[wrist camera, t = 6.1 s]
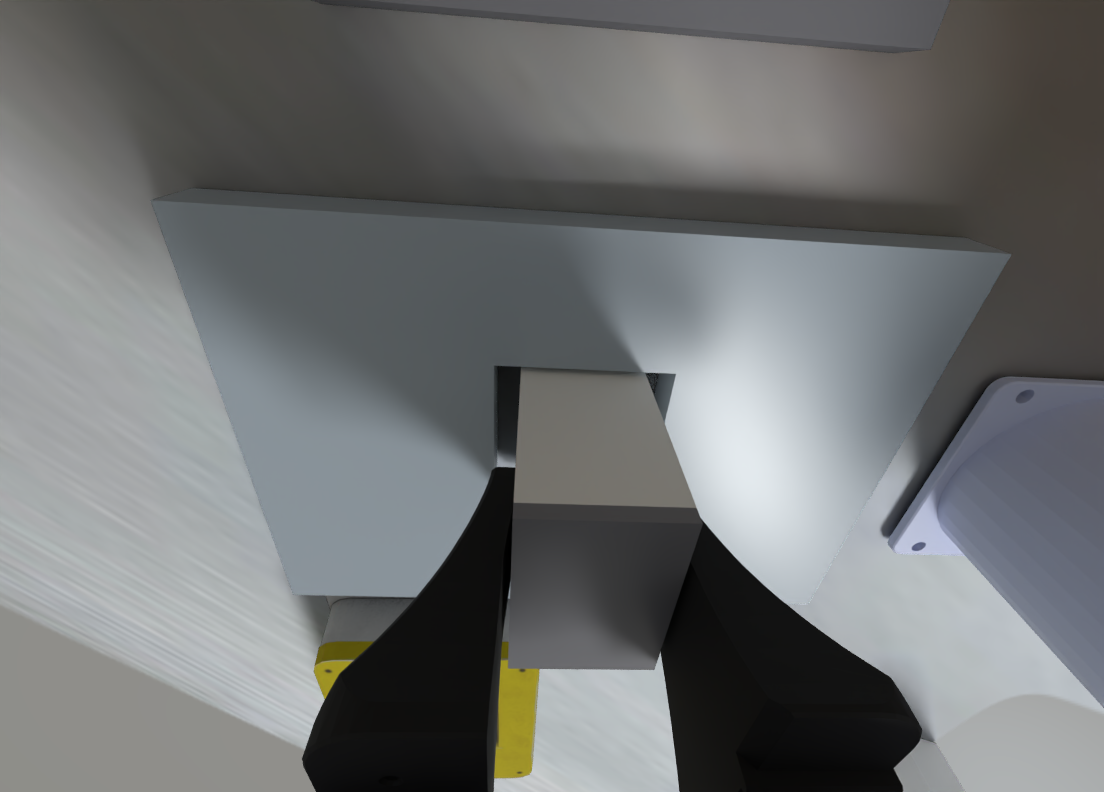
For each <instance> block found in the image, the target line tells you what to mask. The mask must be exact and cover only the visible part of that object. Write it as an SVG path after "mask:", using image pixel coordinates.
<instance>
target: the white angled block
mask: <svg viewBox="0 0 1104 792" xmlns="http://www.w3.org/2000/svg"><path fill="white" fill-rule="evenodd" d="M894 770H895V772H896V774H897V776H898V778H899V780H900V782H901V783H902V785H903V792H965V790H964V789H963V787H962V785H961V783H960V782H959V780H958V779H957V777H956V775H955V774H954V772H953V770H952V769H951V767H950V765H949V764H948V762H947V761H946V759H945V757H944V755H943V754H942V752H941V750H940V749H939V747H938V745H937V744H936V743H935V742H930V741H927V740H924V739H921V738H920V742H919V743H918V744H917V745H916V747H915V748H914V749H913V750H912V751H911V752H910V753H909V754H908V755H907V756H906V757H905V758H904V759H903V760H902V761H901V762H900V763H898V764H897V765H896V766H895V767H894Z"/></svg>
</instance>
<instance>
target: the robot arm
mask: <svg viewBox="0 0 1104 792" xmlns="http://www.w3.org/2000/svg"><path fill="white" fill-rule="evenodd" d="M514 485H515V468H509V467H495V468H494V469H493V470H492V471H491V475H490V478H489V481H488V484H487V486H486V489H485V491H484V493H483V496H482V498H481V500H480V502H479V504H478V506H477V508H476V510H475V512H474V514H473V515H472V517H471V519H470V521H469V523H468V525H467V526H466V528H465V530H464V531H463V533H462V535H461V536H460V538H459V539H458V541H457V543H456V544H455V546H454V547H453V549H452V550H451V552H450V553H449V555H448V556H447V558H446V559H445V561H444V562H443V563H442V565H441V566H440V568H439V569H438V570H437V572H436V573H435V574H434V576H433V577H432V578H431V579H430V581H429V582H428V583H427V584H426V586H425V587H424V588H423V589H422V591H421V592H420V593H419V594H418V595H417V597H416V598H415V599H414V600H413V601H412V602H411V604H410V605H409V606H408V607H407V608H406V609H405V610H404V611H403V612H402V613H401V614H400V616H399V617H398V618H397V619H396V620H395V621H394V622H393V623H392V624H391V625H390V626H389V627H388V628H387V629H386V630H385V631H384V632H383V633H382V634H381V635H380V636H379V637H378V638H377V639H376V640H375V641H374V642H373V643H372V644H371V645H370V646H369V647H368V648H367V649H366V650H365V651H363V652H362V653H361V654H360V655H359V656H358V657H357V658H356V659H355V660H354V661H353V662H351V663H350V664H349V665H348V666H347V667H346V668H345V669H344V670H343V671H342V672H340V674H339V675H338V677H337V679H336V680H335V682H334V684H333V686H332V687H331V689H330V691H329V693H328V695H327V697H326V699H325V701H324V703H323V705H322V707H321V709H320V711H319V713H318V715H317V718H316V720H315V723H314V725H313V728H312V731H311V734H310V737H309V740H308V743H307V746H306V749H305V751H304V755H303V758H302V760H303V766H304V768H305V770H306V772H307V774H308V776H309V778H310V780H311V782H312V785H313V786H314V789H315V791H316V792H493V791H494V773H495V755H496V737H497V719H498V701H499V684H500V667H501V650H502V639H503V630H504V623H505V616H506V609H507V602H508V596H509V589H510V582H511V554H512V522H513V503H514ZM701 520H702V519H701ZM702 523H703V525H702V528H701V531H700V534H699V537H698V540H697V543H696V546H695V549H694V552H693V555H692V558H691V561H690V564H689V567H688V570H687V573H686V576H685V579H684V582H683V585H682V588H681V591H680V594H679V597H678V600H677V603H676V606H675V609H674V612H673V615H672V618H671V621H670V624H669V627H668V630H667V633H666V636H665V639H664V642H663V645H662V648H661V657H662V663H663V670H664V676H665V682H666V689H667V696H668V703H669V710H670V717H671V724H672V732H673V740H674V748H675V756H676V764H677V772H678V782H679V791H680V792H903V785H902V783H901V782H900V780H899V778H898V776H897V774H896V772H895V770H894V767H895V766H896V765H897V764H898V763H900V762H901V761H902V760H903V759H904V758H905V757H906V756H907V755H908V754H909V753H910V752H911V751H912V750H913V749H914V748H915V747H916V745H917V744H918V743H919V742H920V738H921V733H922V728H921V726H920V725H919V723H918V721H917V719H916V717H915V716H914V714H913V712H912V711H911V709H910V707H909V705H908V704H907V702H906V700H905V698H904V697H903V695H902V694H901V692H900V691H899V689H898V688H897V686H896V685H895V683H894V682H893V680H892V679H891V678H890V677H889V676H887V675H886V674H884V673H883V672H881V671H879V670H878V669H876V668H875V667H873V666H872V665H870V664H869V663H867V662H865V661H864V660H862V659H861V658H859V657H858V656H856V655H854V654H853V653H851V652H850V651H848V650H847V649H845V648H844V647H842V646H841V645H839V644H838V643H837V642H835V641H834V640H832V639H831V638H830V637H828V636H827V635H825V634H824V633H823V632H821V631H820V630H819V629H817V628H816V627H814V626H813V625H812V624H811V623H809V622H808V621H807V620H805V619H804V618H803V617H801V616H800V615H799V614H798V613H796V612H795V611H794V610H793V609H792V608H790V607H789V606H788V605H787V604H785V603H784V602H783V601H782V600H781V599H779V598H778V597H777V596H776V595H775V594H773V593H772V592H771V591H770V590H769V589H768V588H767V587H765V586H764V585H763V584H762V583H761V582H760V581H759V580H758V579H757V578H756V577H755V576H754V575H753V574H752V573H751V572H749V571H748V570H747V569H746V568H745V567H744V566H743V565H742V564H741V563H740V562H739V561H738V560H737V559H736V558H735V556H734V555H733V554H732V553H731V552H730V551H729V550H728V549H727V548H726V547H725V546H724V545H723V543H722V542H721V541H720V540H719V539H718V538H717V537H716V535H715V534H714V533H713V532H712V531H711V530H710V528H709V527H708V526H707V525H706V524H705V522H704V521H703V520H702ZM888 545H889V546H890V548H891V549H892V550H893V551H894V552H895V553H898V554H924V555H964V556H966V557H967V558H968V559H969V561H970V562H971V563H972V564H973V565H974V566H975V567H976V568H977V569H978V570H979V572H980V573H981V574H982V575H983V576H984V577H985V578H986V579H987V580H988V581H989V583H990V584H991V585H992V586H993V587H994V588H995V589H996V590H997V591H998V592H999V594H1000V595H1001V596H1002V597H1003V598H1004V599H1005V600H1006V601H1007V602H1008V603H1009V604H1010V606H1011V607H1012V608H1013V609H1014V610H1015V611H1016V612H1017V613H1018V614H1019V615H1020V617H1021V618H1022V619H1023V620H1024V621H1025V622H1026V623H1027V624H1028V625H1029V626H1030V628H1031V629H1032V630H1033V631H1034V632H1035V633H1036V634H1037V635H1038V636H1039V637H1040V639H1041V640H1042V641H1043V642H1044V643H1045V644H1046V645H1047V646H1048V647H1049V648H1050V650H1051V651H1052V652H1053V653H1054V654H1055V655H1056V656H1057V657H1058V658H1059V659H1060V661H1061V662H1062V663H1063V664H1064V665H1065V666H1066V667H1067V668H1068V669H1069V670H1070V672H1071V673H1072V674H1073V675H1074V676H1075V677H1076V678H1077V679H1078V680H1079V681H1080V682H1081V684H1082V685H1083V686H1084V687H1085V688H1086V689H1087V690H1088V691H1089V692H1090V693H1091V695H1092V696H1093V697H1094V698H1095V699H1096V700H1097V701H1098V702H1099V703H1100V704H1101V706H1102V707H1103V708H1104V381H1096V380H1075V379H1053V378H1032V377H1011V376H1010V377H1003V378H1000V379H998V380H995V381H994V382H993V383H991V384H990V385H989V386H988V387H987V388H986V390H985V391H984V393H983V395H982V396H981V398H980V399H979V401H978V402H977V404H976V405H975V407H974V408H973V410H972V411H971V413H970V415H969V416H968V418H967V419H966V421H965V422H964V424H963V425H962V427H961V428H960V430H959V431H958V433H957V434H956V436H955V438H954V439H953V441H952V442H951V444H950V445H949V447H948V448H947V450H946V451H945V453H944V454H943V456H942V458H941V459H940V461H939V462H938V464H937V465H936V467H935V468H934V470H933V471H932V473H931V474H930V476H929V478H928V479H927V481H926V482H925V484H924V485H923V487H922V488H921V490H920V491H919V493H918V494H917V496H916V498H915V499H914V501H913V502H912V504H911V505H910V507H909V508H908V510H907V511H906V513H905V514H904V516H903V518H902V519H901V521H900V522H899V524H898V525H897V527H896V528H895V530H894V531H893V533H892V534H891V536H890V537H889V540H888Z"/></svg>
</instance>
